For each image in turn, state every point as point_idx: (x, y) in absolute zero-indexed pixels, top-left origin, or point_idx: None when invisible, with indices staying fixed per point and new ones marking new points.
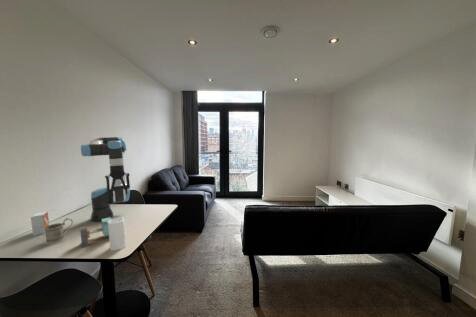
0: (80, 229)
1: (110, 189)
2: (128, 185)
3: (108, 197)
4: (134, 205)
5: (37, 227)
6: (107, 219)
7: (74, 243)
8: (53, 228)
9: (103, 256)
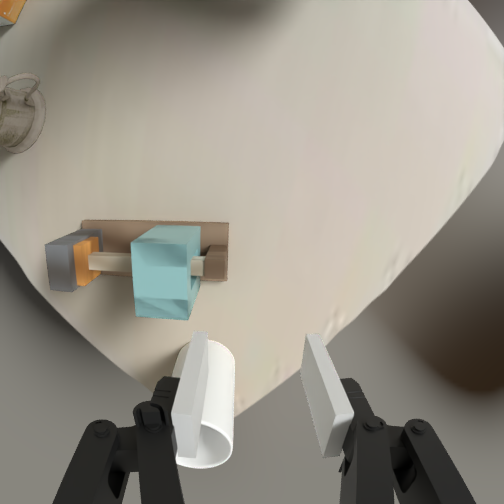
0: (48, 270)
1: (136, 454)
2: (404, 488)
3: None
4: None
5: None
6: (163, 282)
7: (64, 200)
8: None
9: None
